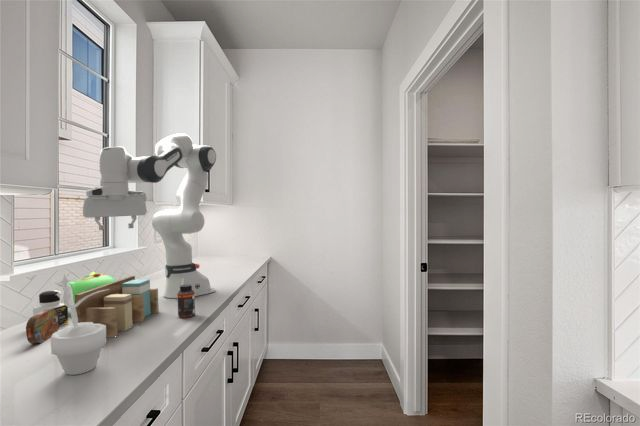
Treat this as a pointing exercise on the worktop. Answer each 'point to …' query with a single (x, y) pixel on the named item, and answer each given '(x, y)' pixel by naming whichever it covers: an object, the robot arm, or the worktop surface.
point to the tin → (42, 326)
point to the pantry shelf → (99, 314)
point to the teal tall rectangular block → (139, 292)
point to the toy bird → (89, 283)
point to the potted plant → (77, 338)
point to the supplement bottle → (186, 301)
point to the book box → (121, 309)
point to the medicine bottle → (52, 305)
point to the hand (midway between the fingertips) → (116, 229)
